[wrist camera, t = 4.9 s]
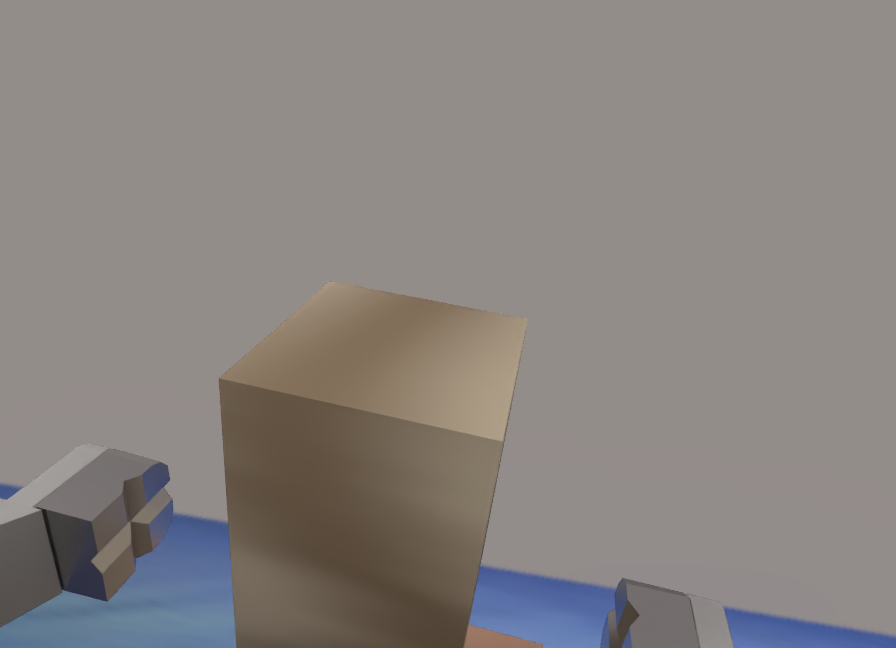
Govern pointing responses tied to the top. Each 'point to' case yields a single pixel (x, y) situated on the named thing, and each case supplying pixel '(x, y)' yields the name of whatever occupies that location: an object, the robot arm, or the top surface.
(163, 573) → the top surface
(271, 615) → the birch stick
